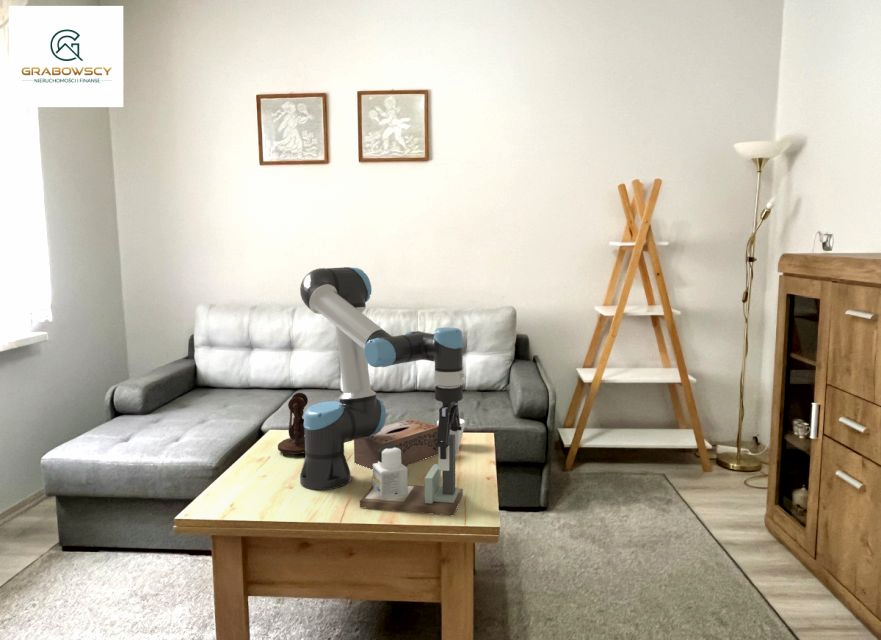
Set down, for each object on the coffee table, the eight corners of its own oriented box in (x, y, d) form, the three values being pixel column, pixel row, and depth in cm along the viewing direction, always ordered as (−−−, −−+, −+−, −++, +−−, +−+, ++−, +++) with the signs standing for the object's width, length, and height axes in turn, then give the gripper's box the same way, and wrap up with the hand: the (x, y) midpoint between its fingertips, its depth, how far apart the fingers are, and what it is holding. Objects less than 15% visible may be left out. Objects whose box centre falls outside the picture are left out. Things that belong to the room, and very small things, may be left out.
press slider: (424, 502, 170) (424, 440, 168) (434, 487, 181) (433, 429, 179) (452, 505, 169) (452, 442, 167) (459, 489, 179) (459, 430, 177)
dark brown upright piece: (282, 444, 228) (280, 390, 226) (323, 443, 229) (322, 389, 227) (274, 458, 214) (271, 400, 211) (318, 457, 215) (316, 399, 212)
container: (372, 489, 180) (371, 445, 179) (398, 485, 183) (397, 441, 182) (381, 499, 173) (381, 453, 172) (408, 494, 176) (407, 449, 175)
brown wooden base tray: (359, 507, 173) (359, 500, 173) (375, 488, 187) (375, 481, 186) (453, 515, 167) (453, 507, 167) (462, 495, 181) (462, 488, 181)
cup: (436, 451, 221) (436, 425, 219) (437, 442, 230) (437, 417, 229) (465, 451, 220) (465, 425, 219) (465, 442, 230) (465, 417, 229)
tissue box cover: (410, 445, 227) (410, 418, 226) (439, 454, 217) (439, 426, 216) (354, 464, 208) (353, 434, 207) (383, 474, 199) (383, 443, 198)
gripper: (453, 396, 158) (453, 478, 160) (470, 376, 182) (470, 448, 185) (424, 395, 160) (425, 476, 162) (444, 375, 184) (445, 446, 186)
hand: (449, 461), depth 173 cm, fingers open, 13 cm apart
